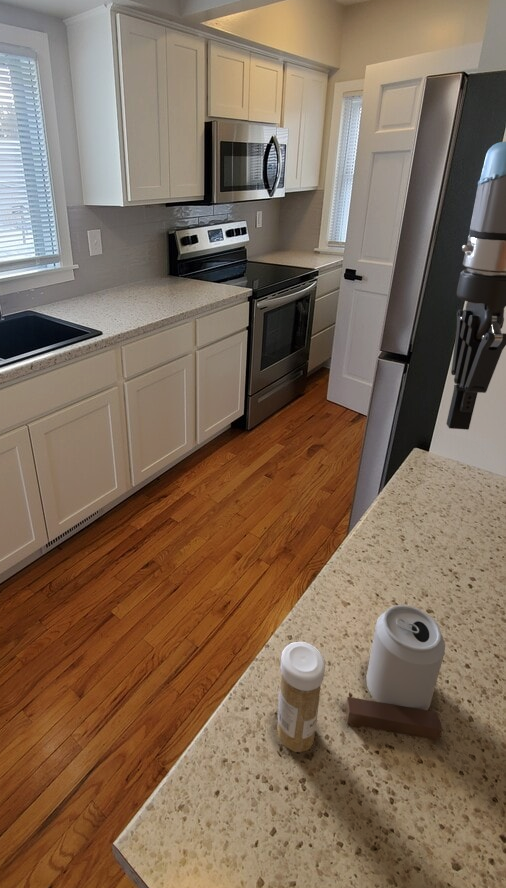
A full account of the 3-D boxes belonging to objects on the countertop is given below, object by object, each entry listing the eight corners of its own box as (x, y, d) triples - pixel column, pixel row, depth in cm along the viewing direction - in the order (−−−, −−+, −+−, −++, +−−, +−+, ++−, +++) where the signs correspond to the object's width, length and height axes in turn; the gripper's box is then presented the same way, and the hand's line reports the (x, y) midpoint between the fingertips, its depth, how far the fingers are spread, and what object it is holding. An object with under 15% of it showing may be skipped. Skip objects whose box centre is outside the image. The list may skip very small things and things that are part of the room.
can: (431, 732, 57) (452, 663, 52) (364, 710, 59) (377, 642, 55) (427, 675, 63) (444, 608, 58) (366, 657, 66) (378, 592, 61)
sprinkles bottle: (319, 757, 55) (331, 677, 49) (279, 759, 55) (287, 680, 49) (308, 715, 59) (318, 638, 54) (271, 718, 59) (277, 640, 53)
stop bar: (432, 728, 57) (437, 711, 56) (437, 746, 56) (442, 729, 54) (344, 712, 59) (347, 696, 58) (346, 729, 58) (349, 713, 56)
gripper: (448, 261, 71) (420, 406, 80) (479, 280, 59) (442, 446, 69) (505, 262, 69) (470, 409, 79) (548, 281, 58) (501, 450, 67)
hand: (457, 426), depth 74 cm, fingers closed
